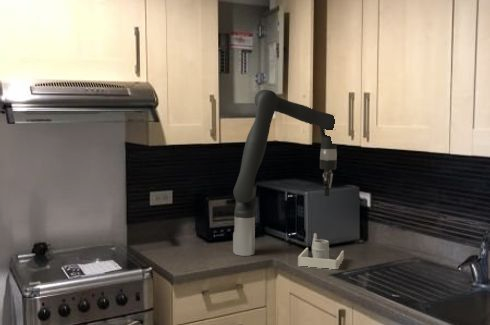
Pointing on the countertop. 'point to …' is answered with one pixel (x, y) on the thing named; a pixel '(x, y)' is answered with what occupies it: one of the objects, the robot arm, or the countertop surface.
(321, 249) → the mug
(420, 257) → the countertop surface
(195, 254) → the countertop surface
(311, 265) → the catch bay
